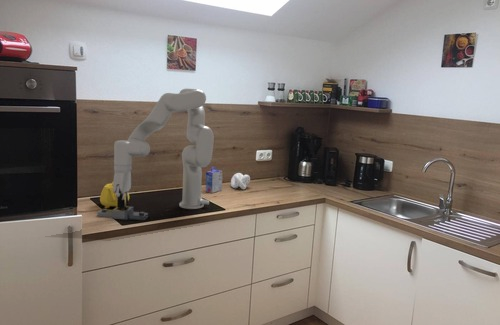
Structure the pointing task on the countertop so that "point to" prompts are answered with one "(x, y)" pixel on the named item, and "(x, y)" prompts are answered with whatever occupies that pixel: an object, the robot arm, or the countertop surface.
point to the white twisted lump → (240, 181)
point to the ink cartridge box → (213, 180)
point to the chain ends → (122, 214)
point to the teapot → (109, 196)
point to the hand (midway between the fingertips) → (122, 206)
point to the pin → (125, 201)
